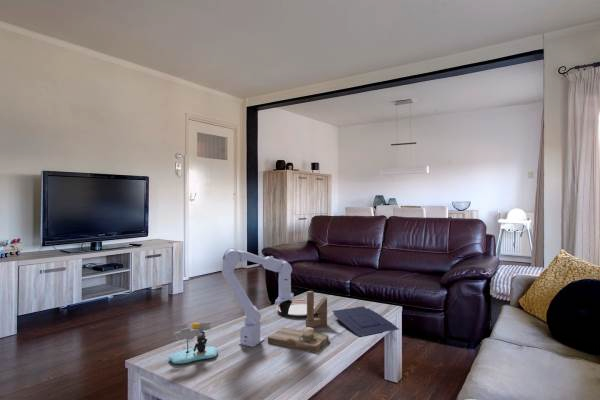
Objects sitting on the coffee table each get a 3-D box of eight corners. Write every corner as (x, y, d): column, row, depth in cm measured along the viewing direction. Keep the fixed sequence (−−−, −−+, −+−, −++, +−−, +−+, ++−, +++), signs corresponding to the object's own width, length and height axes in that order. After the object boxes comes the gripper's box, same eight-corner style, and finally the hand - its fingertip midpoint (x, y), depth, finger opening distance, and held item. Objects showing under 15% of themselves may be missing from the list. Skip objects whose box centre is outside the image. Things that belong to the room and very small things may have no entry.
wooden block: (327, 325, 193) (327, 290, 193) (308, 328, 189) (308, 292, 189) (324, 323, 197) (324, 289, 196) (305, 326, 192) (305, 291, 192)
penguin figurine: (216, 349, 164) (216, 314, 163) (221, 359, 154) (221, 322, 154) (168, 357, 156) (167, 320, 156) (169, 367, 146) (169, 329, 146)
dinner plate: (305, 323, 198) (305, 316, 198) (266, 313, 214) (266, 307, 214) (333, 310, 219) (333, 304, 219) (296, 302, 236) (296, 296, 236)
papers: (365, 310, 215) (366, 304, 214) (399, 334, 187) (400, 327, 187) (328, 316, 205) (328, 309, 204) (358, 342, 178) (358, 335, 177)
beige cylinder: (311, 346, 166) (311, 332, 166) (300, 344, 168) (300, 330, 168) (315, 342, 171) (315, 328, 171) (305, 340, 173) (305, 326, 173)
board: (316, 352, 160) (316, 346, 160) (267, 342, 171) (267, 337, 171) (328, 340, 173) (328, 335, 173) (282, 332, 183) (282, 327, 183)
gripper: (284, 292, 167) (284, 322, 168) (299, 284, 180) (299, 313, 181) (271, 290, 170) (271, 320, 171) (286, 283, 183) (286, 311, 184)
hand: (284, 316), depth 176 cm, fingers closed
